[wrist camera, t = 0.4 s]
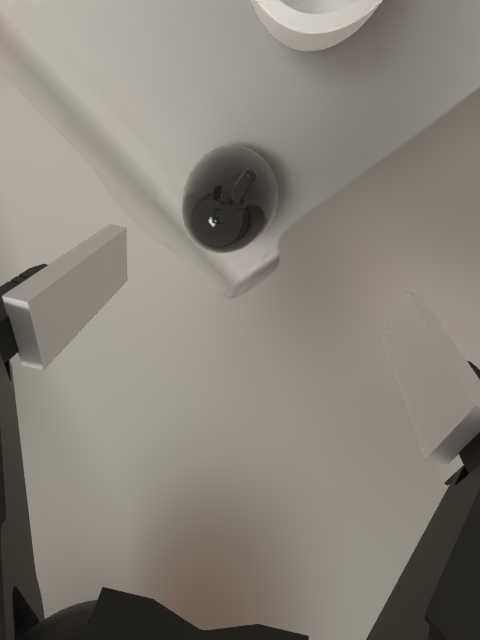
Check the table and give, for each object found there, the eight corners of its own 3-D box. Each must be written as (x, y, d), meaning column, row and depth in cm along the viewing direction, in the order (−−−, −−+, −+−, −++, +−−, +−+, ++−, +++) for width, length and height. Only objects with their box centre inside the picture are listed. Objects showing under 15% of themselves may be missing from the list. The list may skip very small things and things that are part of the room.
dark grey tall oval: (299, 180, 37) (303, 217, 25) (245, 246, 43) (226, 303, 30) (229, 119, 35) (195, 124, 22) (181, 196, 40) (132, 236, 28)
